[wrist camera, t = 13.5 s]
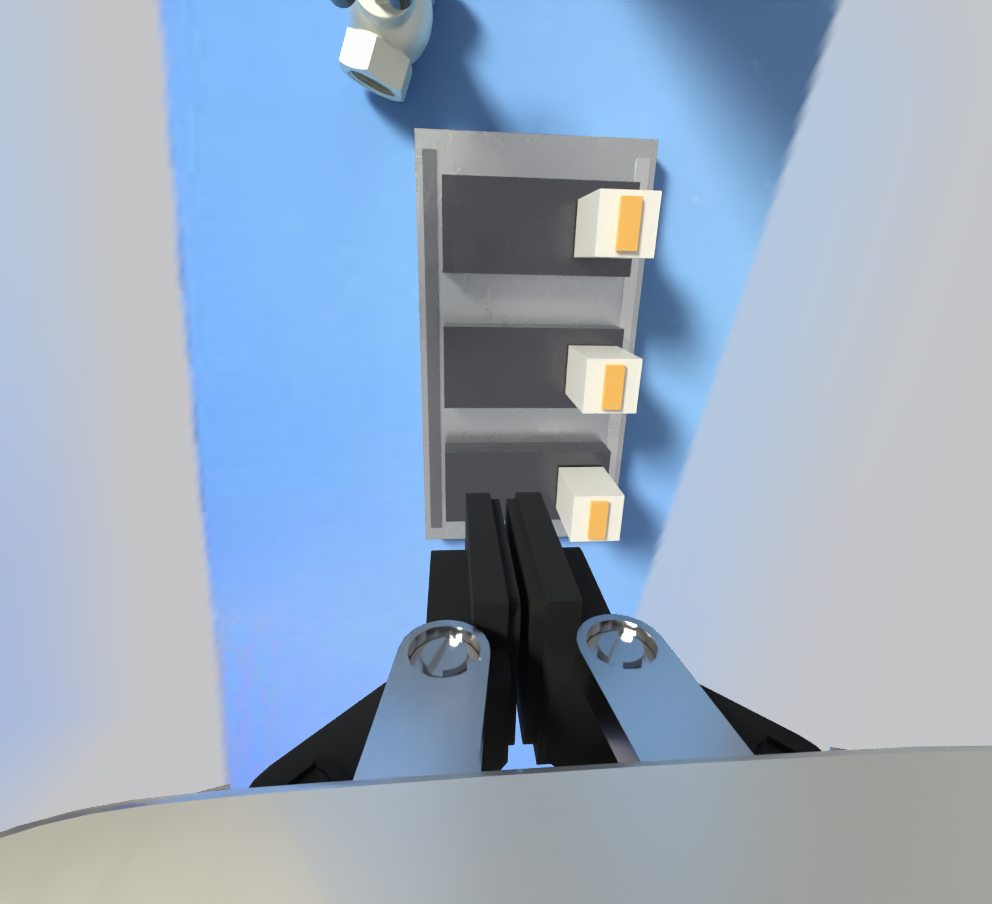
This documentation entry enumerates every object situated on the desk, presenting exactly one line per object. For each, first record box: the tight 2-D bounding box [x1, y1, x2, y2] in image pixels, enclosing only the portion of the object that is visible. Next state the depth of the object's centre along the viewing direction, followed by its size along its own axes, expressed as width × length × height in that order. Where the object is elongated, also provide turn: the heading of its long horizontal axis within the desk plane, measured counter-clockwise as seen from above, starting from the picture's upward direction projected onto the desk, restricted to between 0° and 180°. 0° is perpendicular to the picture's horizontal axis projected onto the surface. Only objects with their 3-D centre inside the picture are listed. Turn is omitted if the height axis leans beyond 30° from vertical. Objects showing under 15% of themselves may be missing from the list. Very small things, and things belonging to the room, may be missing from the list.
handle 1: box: [574, 188, 662, 259], centre depth 27 cm, size 3×3×5 cm
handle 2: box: [556, 467, 625, 542], centre depth 32 cm, size 3×3×5 cm
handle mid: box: [565, 345, 643, 414], centre depth 29 cm, size 3×3×5 cm
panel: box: [414, 128, 659, 540], centre depth 33 cm, size 26×14×4 cm, turn 179°
